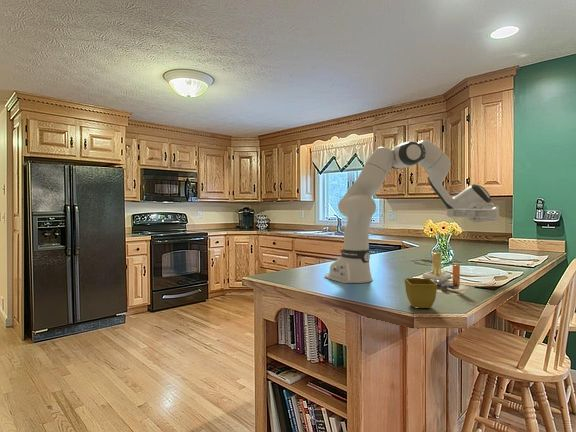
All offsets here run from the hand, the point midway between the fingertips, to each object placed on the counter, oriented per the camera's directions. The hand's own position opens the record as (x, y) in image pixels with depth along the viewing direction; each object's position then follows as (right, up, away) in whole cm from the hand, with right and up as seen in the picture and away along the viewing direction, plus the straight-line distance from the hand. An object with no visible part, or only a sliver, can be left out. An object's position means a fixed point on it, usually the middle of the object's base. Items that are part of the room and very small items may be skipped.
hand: (465, 213), depth 151 cm
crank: (-12, -29, -9) cm, 33 cm away
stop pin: (-7, -29, +12) cm, 32 cm away
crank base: (-12, -31, -6) cm, 33 cm away
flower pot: (-30, -32, -29) cm, 53 cm away
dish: (-7, -29, +12) cm, 33 cm away
